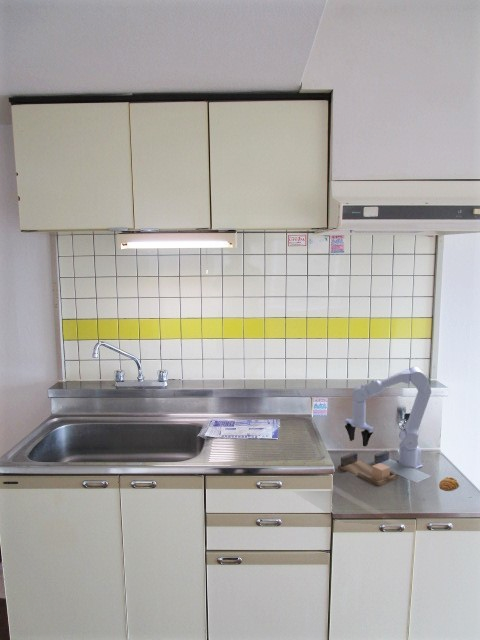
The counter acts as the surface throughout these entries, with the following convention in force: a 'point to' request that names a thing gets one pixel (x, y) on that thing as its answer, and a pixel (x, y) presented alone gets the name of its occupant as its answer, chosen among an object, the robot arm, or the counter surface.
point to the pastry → (448, 484)
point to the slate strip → (400, 468)
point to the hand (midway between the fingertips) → (358, 443)
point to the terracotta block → (380, 471)
